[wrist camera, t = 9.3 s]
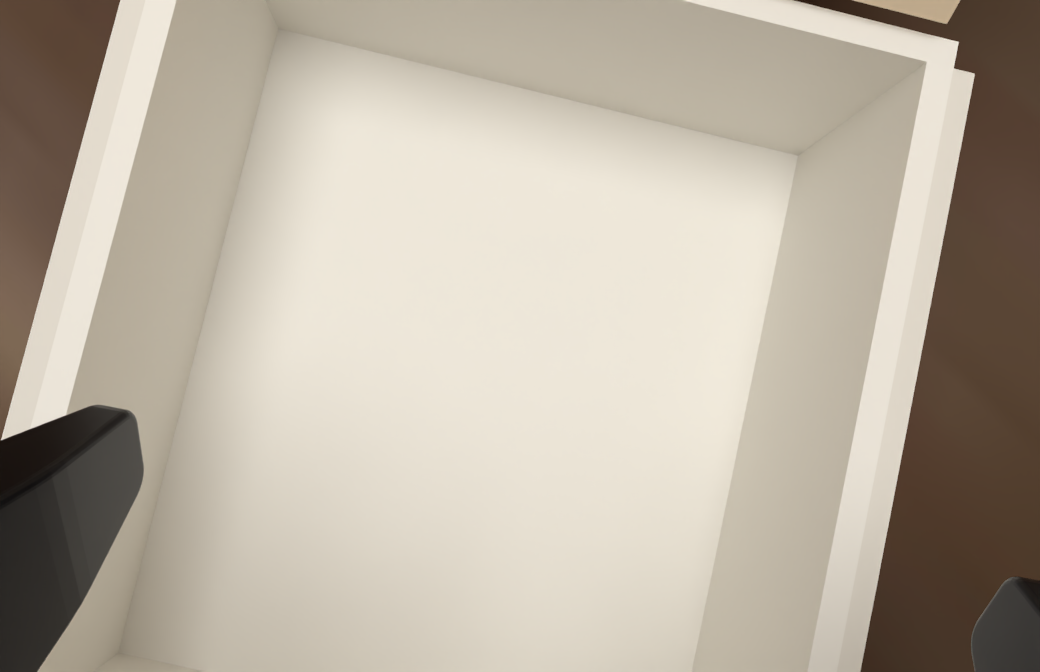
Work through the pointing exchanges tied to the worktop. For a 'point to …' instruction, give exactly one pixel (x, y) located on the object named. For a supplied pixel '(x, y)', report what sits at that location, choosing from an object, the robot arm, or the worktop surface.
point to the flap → (919, 8)
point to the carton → (498, 330)
